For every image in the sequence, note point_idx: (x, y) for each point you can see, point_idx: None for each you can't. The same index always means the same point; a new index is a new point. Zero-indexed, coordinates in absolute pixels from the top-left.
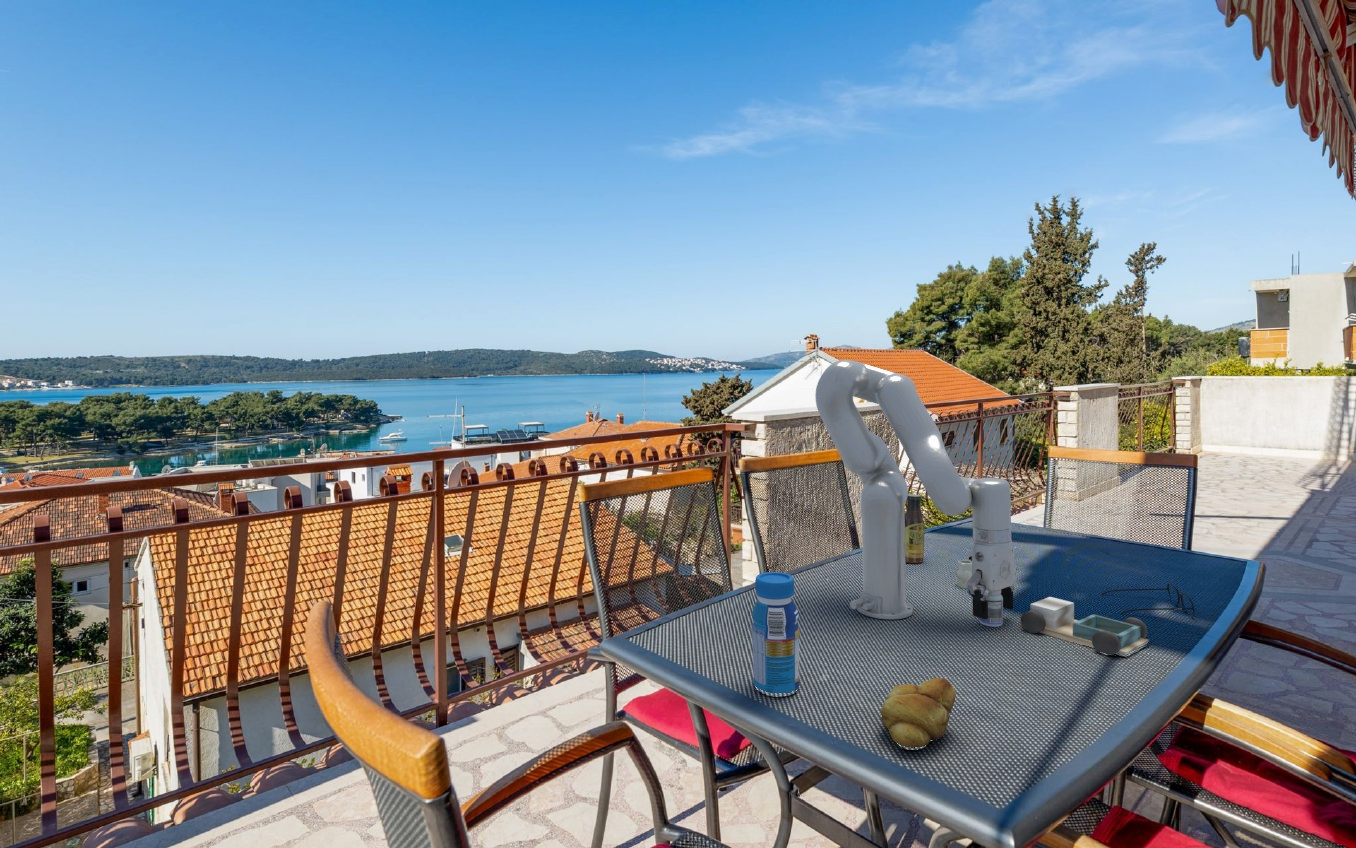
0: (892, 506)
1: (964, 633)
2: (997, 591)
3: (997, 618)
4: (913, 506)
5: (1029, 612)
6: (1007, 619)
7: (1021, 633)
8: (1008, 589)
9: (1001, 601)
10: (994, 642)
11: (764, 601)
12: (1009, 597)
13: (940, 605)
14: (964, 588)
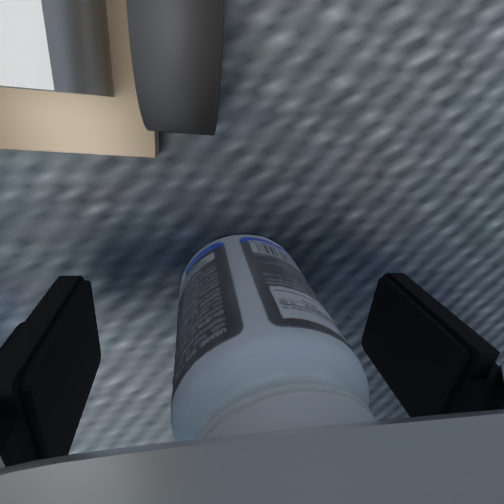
0: None
1: (449, 285)
2: (347, 420)
3: (282, 259)
4: None
5: (221, 33)
6: (104, 266)
7: (264, 95)
8: (8, 434)
9: (278, 318)
10: (491, 138)
11: None
12: (57, 350)
13: None
14: None
